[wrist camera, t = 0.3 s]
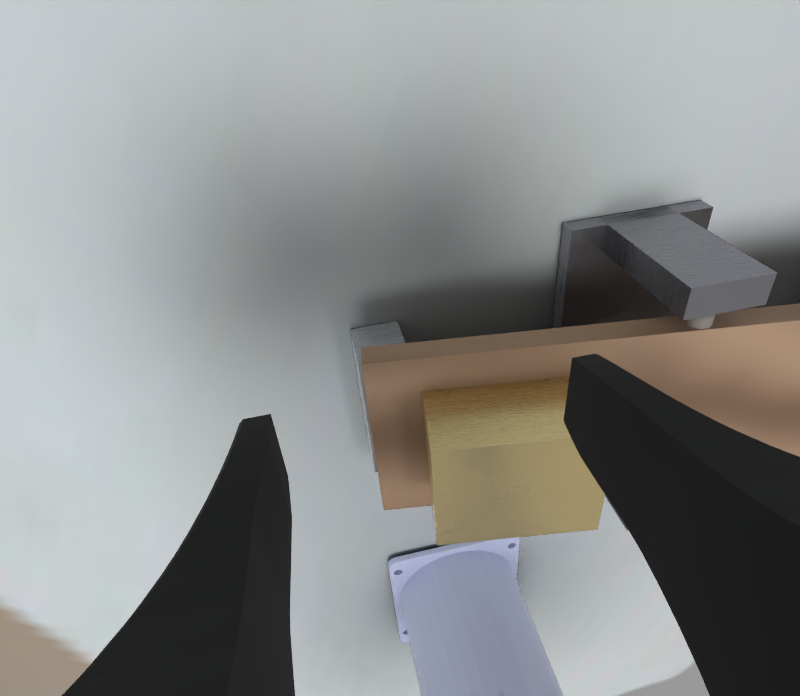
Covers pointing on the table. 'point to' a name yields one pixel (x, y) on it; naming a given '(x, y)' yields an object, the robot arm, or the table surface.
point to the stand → (631, 276)
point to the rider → (505, 463)
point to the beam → (617, 342)
